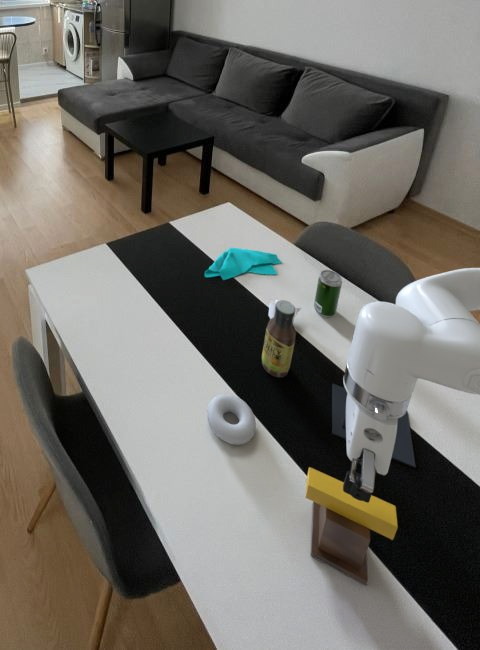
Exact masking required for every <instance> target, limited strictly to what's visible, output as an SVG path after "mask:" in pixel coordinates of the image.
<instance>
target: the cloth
mask: <svg viewBox="0 0 480 650" xmlns="http://www.w3.org/2000/svg"><path fill="white" fill-rule="evenodd" d="M278 264H283V262H282V260H281V259H280V258H279V257H278V255H277V254H276V253H271V252H266V251H262V250H261V251H260V250H253V249H248V248H244V249H243V248H239V247H229V248H228V249H226V250H225V251H224V252H223V253H221V254H220V255H219V256H218V257H217V259H216V260H214V262H213V263H212V264H211V265H210V266H209V267H208V269H206V270H205V271H204V278H216V277H220V278H221V279H222V281H226V280H229V279H232V278H235V277H237V276H239V275H242V274H245V273H253V274H257V275H268V276H269V275H272V276H273V275H274V276H275V275H277V274H278V272H277V271H276V269H275V267H274V265H278Z"/></svg>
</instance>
